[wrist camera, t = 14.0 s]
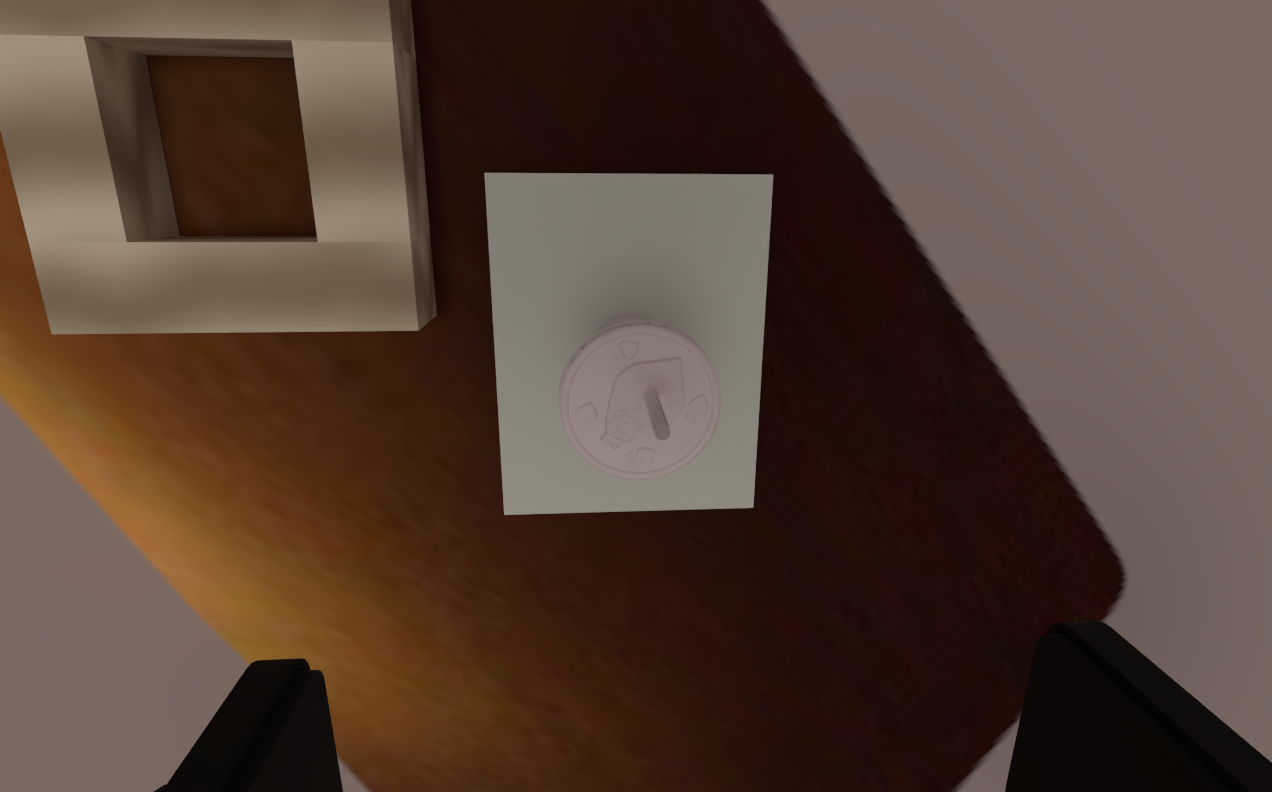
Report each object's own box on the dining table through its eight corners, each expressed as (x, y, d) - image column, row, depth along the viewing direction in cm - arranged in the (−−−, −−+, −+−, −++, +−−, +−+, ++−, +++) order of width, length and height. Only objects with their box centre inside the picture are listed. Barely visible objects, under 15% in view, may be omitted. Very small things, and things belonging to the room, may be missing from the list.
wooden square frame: (29, -49, 29) (-54, -85, 25) (407, -38, 30) (382, -72, 27) (111, 317, 34) (52, 334, 30) (436, 315, 35) (418, 330, 31)
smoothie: (712, 341, 35) (789, 429, 22) (634, 432, 37) (663, 569, 23) (616, 263, 34) (637, 306, 21) (539, 361, 35) (511, 462, 22)
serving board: (487, 173, 33) (484, 172, 32) (768, 174, 34) (773, 174, 33) (506, 506, 38) (504, 514, 38) (749, 500, 39) (753, 507, 39)
